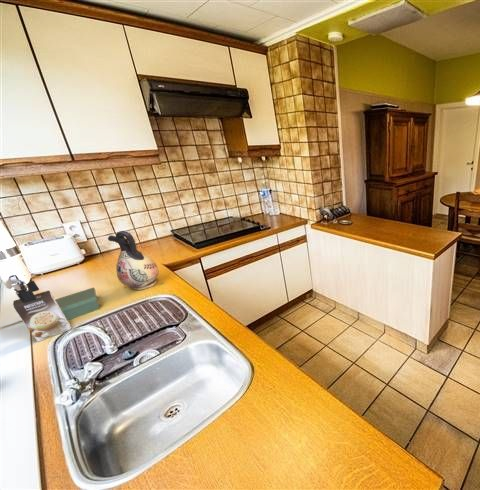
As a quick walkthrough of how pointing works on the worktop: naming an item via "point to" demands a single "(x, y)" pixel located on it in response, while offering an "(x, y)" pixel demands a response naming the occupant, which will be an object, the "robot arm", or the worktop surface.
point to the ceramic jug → (133, 263)
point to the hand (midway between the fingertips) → (31, 296)
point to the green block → (78, 303)
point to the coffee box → (42, 316)
